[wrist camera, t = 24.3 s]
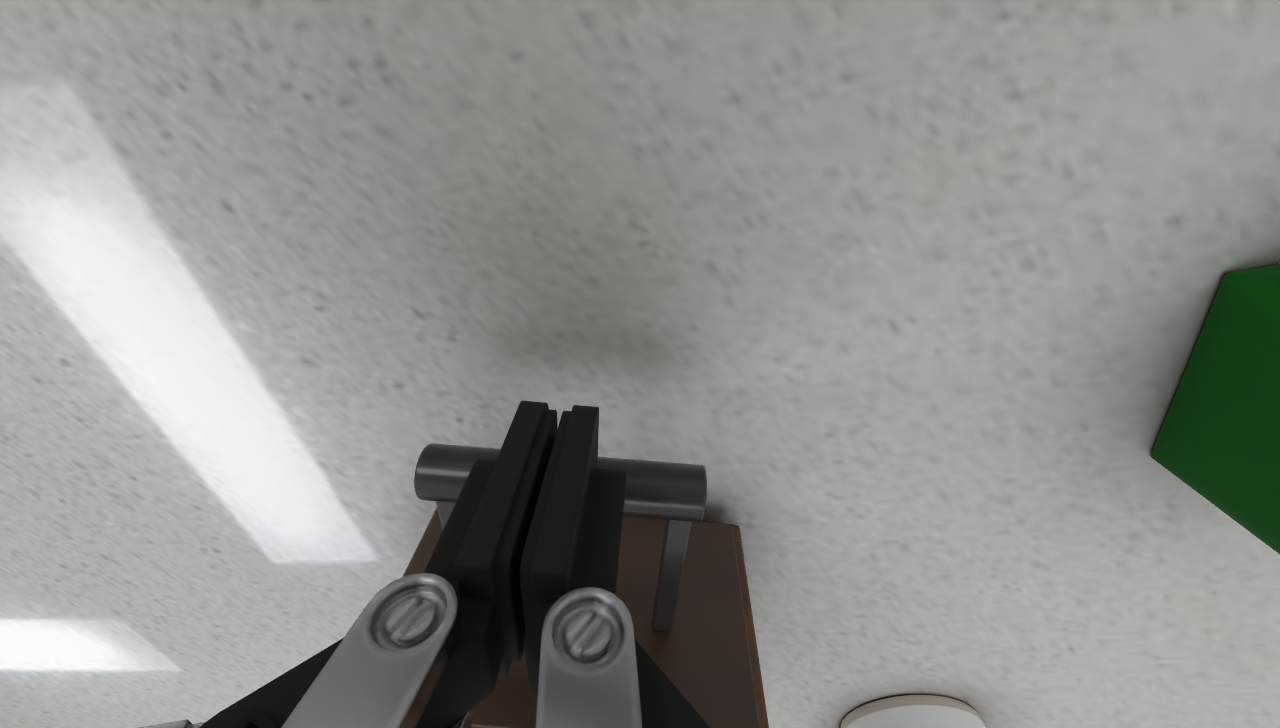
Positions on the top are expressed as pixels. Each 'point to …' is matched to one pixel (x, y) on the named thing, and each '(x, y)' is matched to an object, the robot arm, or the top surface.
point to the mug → (914, 713)
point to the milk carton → (1233, 406)
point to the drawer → (637, 586)
